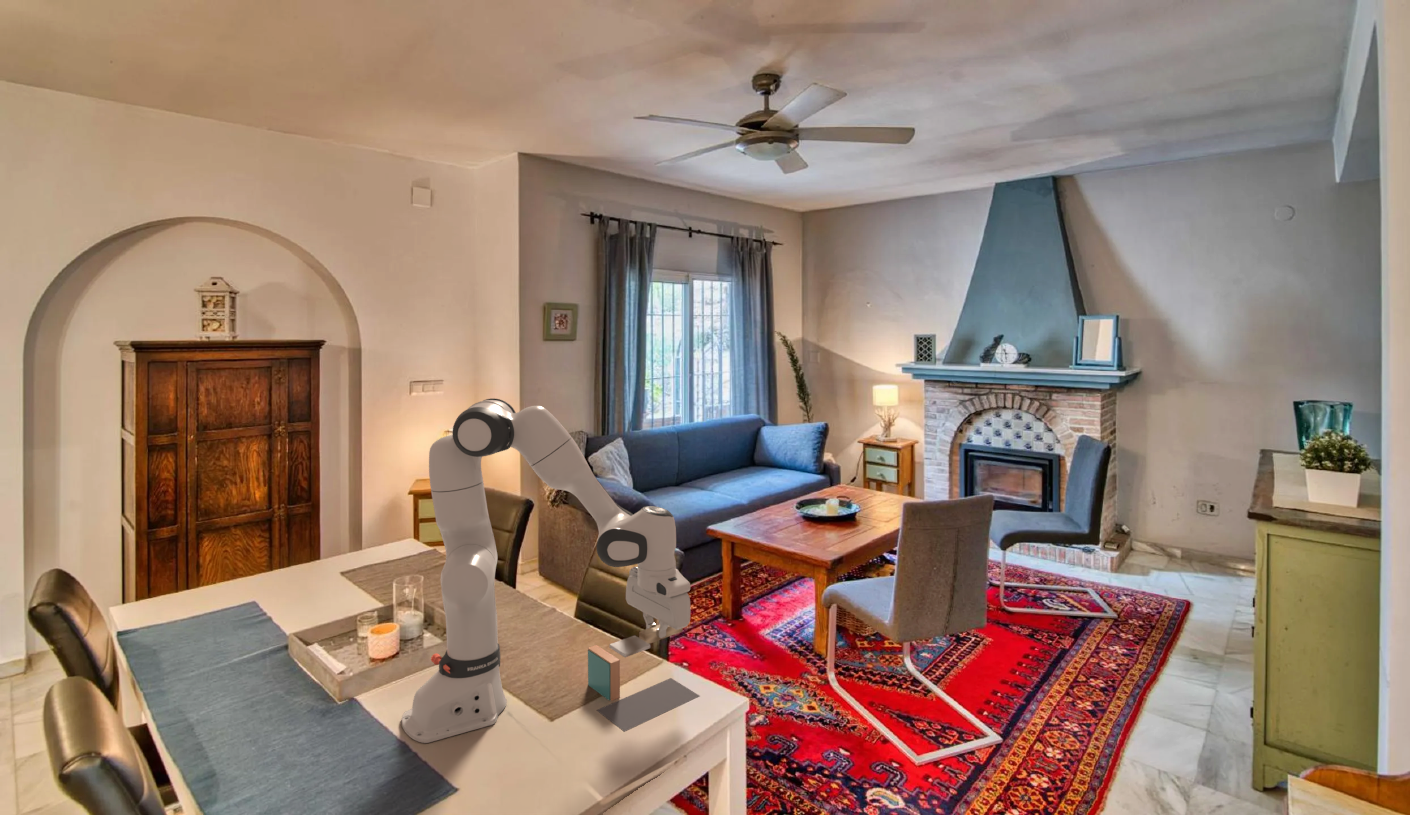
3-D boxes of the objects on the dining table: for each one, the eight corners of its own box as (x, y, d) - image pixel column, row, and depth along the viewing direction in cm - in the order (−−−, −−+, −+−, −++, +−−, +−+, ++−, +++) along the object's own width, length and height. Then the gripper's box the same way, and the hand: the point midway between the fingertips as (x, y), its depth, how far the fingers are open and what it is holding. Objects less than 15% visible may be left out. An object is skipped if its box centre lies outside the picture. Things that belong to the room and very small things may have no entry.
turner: (624, 657, 149) (624, 647, 149) (609, 647, 153) (609, 637, 153) (687, 633, 161) (687, 624, 160) (671, 625, 165) (671, 616, 165)
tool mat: (624, 734, 147) (624, 731, 147) (596, 712, 155) (596, 709, 155) (700, 698, 162) (700, 695, 162) (670, 680, 170) (670, 677, 170)
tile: (610, 703, 159) (610, 663, 158) (587, 686, 166) (586, 648, 165) (619, 699, 161) (619, 659, 160) (596, 683, 168) (596, 644, 167)
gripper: (619, 567, 162) (619, 622, 164) (673, 592, 147) (672, 653, 149) (640, 561, 166) (640, 615, 168) (695, 586, 151) (694, 645, 153)
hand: (656, 633), depth 158 cm, fingers closed on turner, 2 cm apart
